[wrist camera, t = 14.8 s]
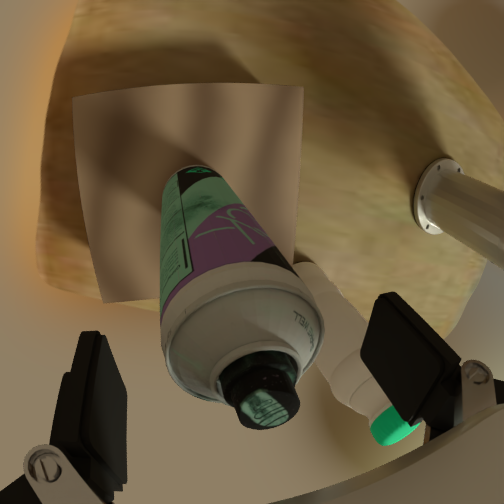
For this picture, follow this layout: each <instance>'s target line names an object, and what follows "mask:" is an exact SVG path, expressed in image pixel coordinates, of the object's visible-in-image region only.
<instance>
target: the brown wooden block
mask: <svg viewBox="0 0 504 504" xmlns="http://www.w3.org/2000/svg"><path fill="white" fill-rule="evenodd" d="M303 100H304V87H298V86H287V85H273V84H253V83H190V84H171V85H157V86H146V87H136V88H128V89H120V90H112V91H106V92H99V93H93V94H88V95H82V96H77V97H72V113H73V132H74V145H75V157H76V166H77V175H78V183H79V190H80V197H81V204H82V210H83V216H84V222H85V227H86V232H87V237H88V242H89V247H90V252H91V256H92V261H93V265H94V269H95V273H96V277H97V281H98V285H99V289H100V293H101V297H102V300H103V303H114V302H125V301H135V300H146V299H156V298H160V235H161V210H162V194H163V190H164V187H165V185H166V183H167V181H168V179H169V178H170V177H171V176H172V175H173V174H174V173H175V172H176V171H178V170H180V169H181V168H183V167H187V166H190V165H203V166H207V167H210V168H212V169H214V170H215V171H216V172H218V173H219V174H220V175H221V176H222V177H223V178H224V180H225V181H226V182H227V183H228V185H229V186H230V187H231V189H232V190H233V191H234V192H235V194H236V195H237V196H238V197H239V199H240V200H241V201H242V203H243V204H244V205H245V206H246V208H247V209H248V210H249V212H250V213H251V214H252V216H253V217H254V218H255V219H256V221H257V222H258V223H259V225H260V226H261V227H262V229H263V230H264V231H265V232H266V234H267V235H268V236H269V238H270V239H271V240H272V242H273V243H274V244H275V245H276V247H277V248H278V249H279V251H280V252H281V253H282V255H283V256H284V257H285V259H286V260H287V261H288V263H289V264H290V265H291V267H292V268H293V257H294V246H295V234H296V222H297V209H298V195H299V180H300V163H301V145H302V125H303Z"/></svg>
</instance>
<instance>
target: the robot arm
mask: <svg viewBox="0 0 504 504" xmlns="http://www.w3.org/2000/svg"><path fill="white" fill-rule="evenodd" d="M414 215H415V219H416V222H417V224H418V225H419V227H420V228H421V229H422V230H424V231H425V232H427V233H429V234H433V235H435V234H440V233H443V232H445V233H447V234H449V235H450V236H452V237H454V238H455V239H457V240H458V241H460V242H462V243H463V244H465V245H466V246H468V247H469V248H471V249H472V250H474V251H476V252H477V253H479V254H480V255H482V256H483V257H485V258H486V259H488V260H489V261H491V262H492V263H494V264H495V265H497V266H498V267H499V268H501V269H503V270H504V191H502V190H499V189H497V188H495V187H493V186H490V185H488V184H486V183H483V182H481V181H479V180H476V179H474V178H471V177H469V176H466V175H464V172H463V170H462V168H461V166H460V165H459V164H458V163H457V162H455V161H454V160H451V159H448V158H441V159H438V160H436V161H434V162H433V163H431V164H430V165H429V166H428V167H427V168H426V170H425V171H424V173H423V174H422V176H421V178H420V180H419V182H418V185H417V188H416V191H415V196H414ZM360 357H361V360H362V361H363V363H364V364H365V365H366V367H367V368H368V370H369V371H370V373H371V374H372V376H373V377H374V378H375V380H376V381H377V383H378V384H379V386H380V387H381V389H382V390H383V392H384V393H385V394H386V396H387V397H388V399H389V400H390V402H391V403H392V405H393V406H394V408H395V409H396V411H397V412H398V414H399V415H400V417H401V418H402V419H403V421H405V422H408V424H409V425H410V427H412V426H414V425H416V424H418V423H420V422H422V420H424V421H425V422H426V426H425V434H424V442H423V446H420V447H419V448H417V449H415V450H413V451H411V452H409V453H407V454H405V455H403V456H401V457H399V458H397V459H395V460H393V461H391V462H389V463H386V464H384V465H382V466H380V467H378V468H375V469H373V470H371V471H368V472H366V473H363V474H361V475H359V476H356V477H353V478H351V479H348V480H346V481H343V482H340V483H338V484H335V485H332V486H329V487H326V488H323V489H320V490H317V491H313V492H310V493H307V494H303V495H300V496H296V497H293V498H289V499H285V500H281V501H277V502H273V503H269V504H504V381H501V380H496V379H493V375H492V372H491V370H490V369H489V368H488V367H487V366H486V365H485V364H484V363H482V362H480V361H477V360H467V361H466V362H464V363H463V365H462V366H460V365H459V363H460V361H461V358H460V357H459V356H458V355H457V354H456V353H455V351H454V350H453V349H452V348H451V347H450V346H449V345H448V344H447V343H446V342H445V341H444V340H443V339H442V338H441V337H440V336H439V335H438V334H437V333H436V332H435V331H434V330H433V329H432V328H431V327H430V326H429V325H428V323H427V322H426V321H425V320H424V319H423V318H422V317H421V316H420V315H419V314H418V313H417V312H416V311H414V310H413V309H412V308H411V307H410V306H409V305H408V304H407V303H406V302H405V301H404V300H403V299H402V298H401V297H400V296H399V295H398V294H397V293H396V292H388V293H384V294H380V295H379V296H378V299H376V300H375V303H374V307H373V310H372V314H371V317H370V321H369V324H368V327H367V331H366V334H365V337H364V340H363V343H362V346H361V350H360ZM126 428H127V391H126V388H125V385H124V383H123V381H122V378H121V375H120V373H119V370H118V368H117V365H116V363H115V360H114V357H113V355H112V352H111V349H110V346H109V344H108V341H107V338H106V336H105V335H101V334H100V332H99V331H83V332H81V334H80V337H79V340H78V344H77V348H76V352H75V356H74V359H73V363H72V368H71V372H66V373H65V374H64V375H63V378H62V382H61V386H60V391H59V395H58V400H57V404H56V409H55V414H54V420H53V425H52V430H51V436H50V443H49V445H47V444H44V445H38V446H36V447H34V448H32V449H31V450H30V451H29V452H28V453H27V455H26V457H25V459H24V463H23V467H24V474H23V475H22V476H21V477H19V478H18V479H16V480H15V481H14V482H12V483H11V484H10V485H8V486H7V487H6V488H4V489H3V490H1V491H0V504H114V503H113V502H112V501H113V500H114V491H123V486H122V484H126V483H127V452H126V451H127V450H126V449H127V448H126V446H127V445H126V431H127V429H126Z"/></svg>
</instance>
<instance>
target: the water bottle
mask: <svg viewBox="0 0 504 504" xmlns="http://www.w3.org/2000/svg"><path fill="white" fill-rule="evenodd" d="M293 269H294V271H295V272H296V273H297V275H298V276H299V277H300V279H301V280H302V281H303V283H304V284H305V285H306V287H307V288H308V289H309V291H310V292H311V293H312V295H313V297H314V300H315V302H316V305H317V307H318V308H319V310H320V312H321V315H322V317H323V320H324V328H325V333H324V340H323V344H322V346H321V349H320V352H319V354H318V355H317V357H316V359H315V360H314V362H315V363H316V365H317V366H318V368H319V369H320V371H321V373H322V374H323V376H324V377H325V378H326V380H327V381H328V382H329V384H330V387H331V391H332V393H333V395H334V396H335V397H336V399H337V400H338V401H340V402H341V403H343V404H344V405H346V406H348V407H350V408H352V409H353V410H355V411H356V412H358V413H360V414H363V415H365V416H367V417H368V418H369V427H370V430H371V433H372V435H373V437H374V438H375V440H376V441H377V442H378V443H379V444H380V445H382V446H387V445H391V444H394V443H395V442H398V441H400V440H401V439H403V438H404V437H406V436H407V435H408V434H410V433H411V432H412V431H413V430H414V429H416V427H417V426H418V425H419V424H420V423H421V422H420V423H418V424H416V425H414V426H412V427H410V425H409V424H408V422H405V421H403V419H402V418H401V417H400V415H399V414H398V412H397V411H396V409H395V408H394V406H393V405H392V403H391V402H390V400H389V399H388V397H387V396H386V394H385V393H384V392H383V390H382V389H381V387H380V386H379V384H378V383H377V381H376V380H375V378H374V377H373V376H372V374H371V373H370V371H369V370H368V368H367V367H366V365H365V364H364V363H363V361H362V360H361V357H360V350H361V346H362V343H363V340H364V337H365V334H366V331H367V327H368V324H369V323H368V322H367V321H366V319H365V318H364V317H363V316H362V315H361V314H360V313H359V311H358V310H357V309H356V308H355V307H354V306H353V305H352V304H351V303H350V302H349V301H348V300H347V299H346V298H344V296H343V294H342V293H341V291H340V290H339V288H338V287H337V286H336V285H335V284H334V283H333V282H332V281H330V280H329V278H328V276H327V275H326V274H325V272H324V271H323V270H322V269H321V268H320V267H319V266H318V265H316V264H314V263H311V262H300V263H296V264H294V265H293Z"/></svg>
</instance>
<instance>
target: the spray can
mask: <svg viewBox="0 0 504 504" xmlns="http://www.w3.org/2000/svg"><path fill="white" fill-rule="evenodd" d="M160 327H161V346H162V350H163V353H164V356H165V361H166V366H167V369H168V372H169V374H170V376H171V377H172V379H173V380H174V382H175V383H176V384H177V385H178V386H179V387H181V388H182V389H183V390H184V391H186V392H187V393H189V394H191V395H193V396H194V397H197V398H200V399H203V400H206V401H211V402H217V403H223V404H225V405H228V406H232V407H234V408H235V410H236V413H237V415H238V418H239V420H240V422H241V424H242V425H243V426H245V427H247V428H251V429H257V430H264V429H270V428H274V427H277V426H279V425H282V424H284V423H286V422H287V421H289V420H290V419H291V418H293V417H294V415H295V414H296V413H297V412H298V410H299V407H300V400H299V398H298V395H297V393H296V391H295V388H294V387H295V385H296V384H297V382H298V381H299V379H300V378H301V375H302V374H303V373H305V371H306V370H307V369H308V368H309V367H310V366H311V364H312V363H313V362H314V360H315V359H316V357H317V355H318V354H319V352H320V349H321V346H322V344H323V340H324V333H325V328H324V320H323V317H322V315H321V312H320V310H319V308H318V307H317V305H316V302H315V300H314V297H313V295H312V293H311V292H310V291H309V289H308V288H307V287H306V285H305V284H304V283H303V281H302V280H301V279H300V277H299V276H298V275H297V273H296V272H295V271H294V269H293V268H292V267H291V265H290V264H289V263H288V261H287V260H286V259H285V257H284V256H283V255H282V253H281V252H280V251H279V249H278V248H277V247H276V245H275V244H274V243H273V242H272V240H271V239H270V238H269V236H268V235H267V234H266V232H265V231H264V230H263V229H262V227H261V226H260V225H259V223H258V222H257V221H256V219H255V218H254V217H253V216H252V214H251V213H250V212H249V210H248V209H247V208H246V206H245V205H244V204H243V203H242V201H241V200H240V199H239V197H238V196H237V195H236V194H235V192H234V191H233V190H232V189H231V187H230V186H229V185H228V183H227V182H226V181H225V180H224V178H223V177H222V176H221V175H220V174H219V173H218V172H216V171H215V170H214V169H212V168H210V167H207V166H203V165H190V166H187V167H183V168H181V169H180V170H178V171H176V172H175V173H174V174H173V175H172V176H171V177H170V178H169V179H168V181H167V183H166V185H165V187H164V190H163V194H162V210H161V235H160Z"/></svg>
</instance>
